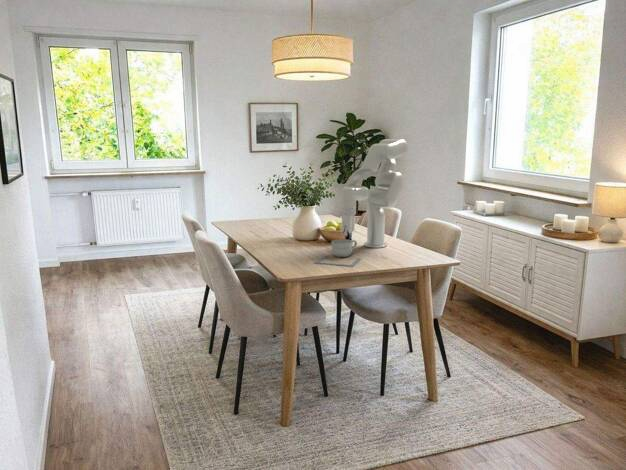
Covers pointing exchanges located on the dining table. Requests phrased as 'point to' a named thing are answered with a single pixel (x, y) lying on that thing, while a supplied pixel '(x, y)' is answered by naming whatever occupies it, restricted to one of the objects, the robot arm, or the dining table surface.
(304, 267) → the dining table surface
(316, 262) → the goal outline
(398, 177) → the robot arm
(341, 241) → the teacup
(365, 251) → the dining table surface
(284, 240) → the dining table surface
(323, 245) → the dining table surface
